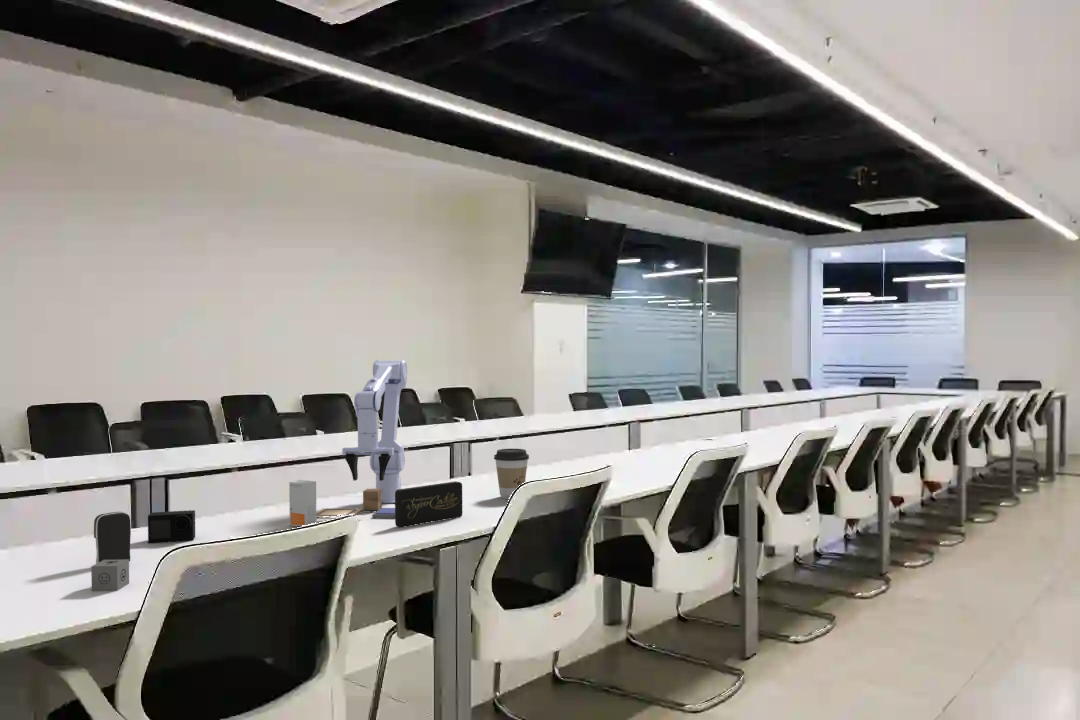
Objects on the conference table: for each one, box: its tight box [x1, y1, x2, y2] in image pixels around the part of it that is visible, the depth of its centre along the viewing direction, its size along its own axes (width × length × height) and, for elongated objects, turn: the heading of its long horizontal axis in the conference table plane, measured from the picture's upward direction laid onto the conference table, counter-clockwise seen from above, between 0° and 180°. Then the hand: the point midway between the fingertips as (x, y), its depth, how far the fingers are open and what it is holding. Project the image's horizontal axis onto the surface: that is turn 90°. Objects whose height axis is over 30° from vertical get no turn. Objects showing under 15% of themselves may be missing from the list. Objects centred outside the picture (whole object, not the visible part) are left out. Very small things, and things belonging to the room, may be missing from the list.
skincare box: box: [288, 479, 317, 528], centre depth 220 cm, size 6×4×12 cm
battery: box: [93, 511, 132, 564], centre depth 182 cm, size 7×4×11 cm, turn 137°
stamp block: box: [362, 488, 383, 512], centre depth 242 cm, size 4×4×6 cm
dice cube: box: [90, 559, 130, 592], centre depth 164 cm, size 5×5×5 cm
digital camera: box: [147, 509, 196, 544], centre depth 204 cm, size 10×5×7 cm, turn 105°
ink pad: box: [371, 507, 395, 519], centre depth 234 cm, size 9×9×1 cm
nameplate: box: [394, 481, 463, 528], centre depth 225 cm, size 21×2×10 cm, turn 132°
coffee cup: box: [493, 448, 530, 500], centre depth 261 cm, size 11×11×15 cm
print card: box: [316, 507, 363, 517], centre depth 236 cm, size 12×12×1 cm
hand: (368, 480), depth 236 cm, fingers open, 7 cm apart
